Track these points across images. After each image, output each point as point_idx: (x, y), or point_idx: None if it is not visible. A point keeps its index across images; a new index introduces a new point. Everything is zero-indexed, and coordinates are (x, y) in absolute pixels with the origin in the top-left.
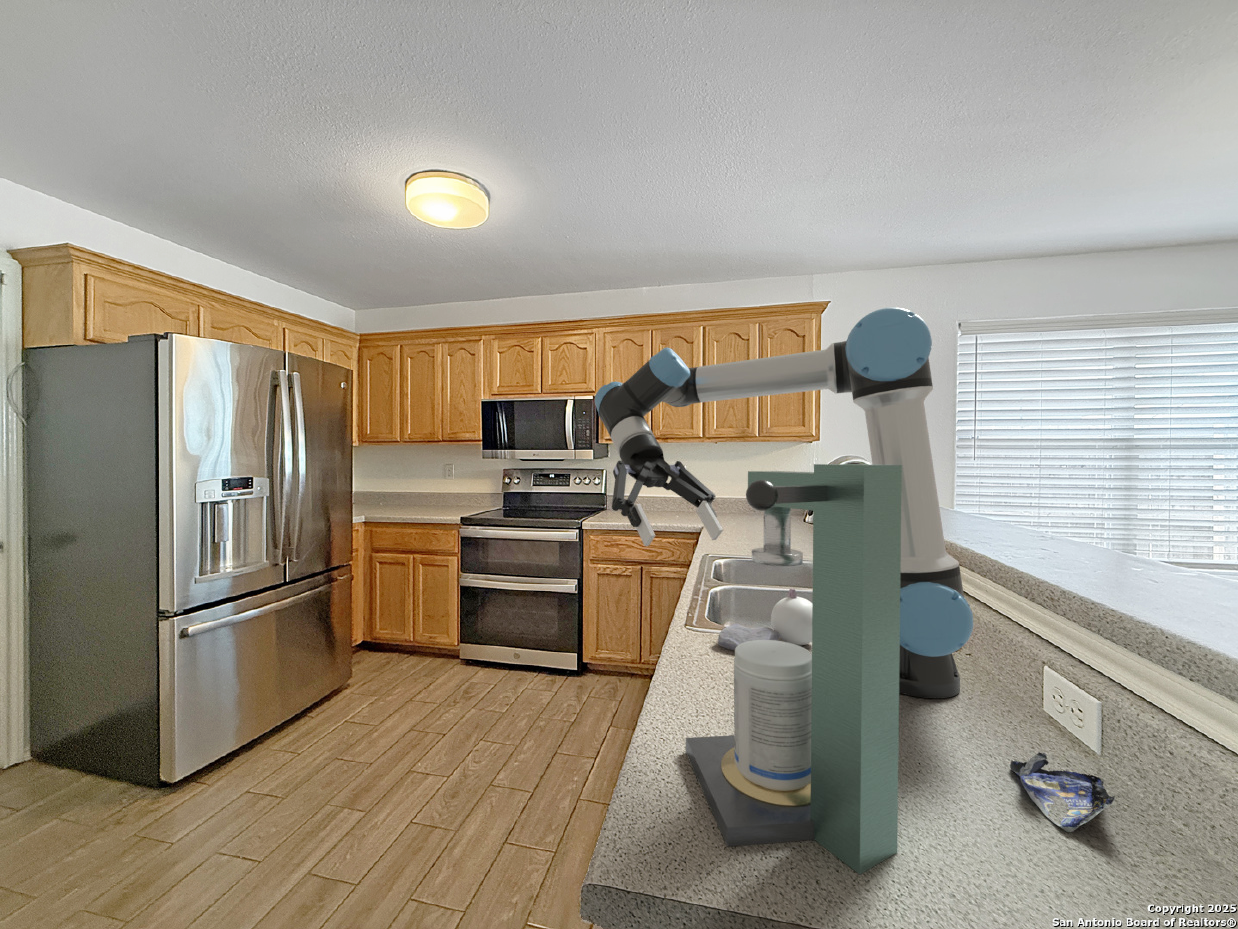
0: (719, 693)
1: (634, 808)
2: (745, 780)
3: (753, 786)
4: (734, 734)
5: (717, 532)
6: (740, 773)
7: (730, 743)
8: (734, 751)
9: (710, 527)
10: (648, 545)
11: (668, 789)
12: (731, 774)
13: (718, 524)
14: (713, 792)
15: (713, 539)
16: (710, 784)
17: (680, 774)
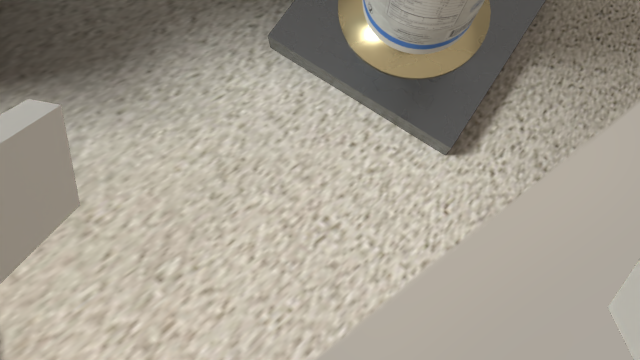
0: (222, 262)
1: (597, 108)
2: None
3: None
4: (472, 16)
5: (62, 139)
6: None
7: (404, 91)
8: (462, 33)
9: (20, 212)
10: (614, 304)
11: (531, 108)
12: (472, 38)
13: (5, 123)
14: (521, 32)
15: (75, 197)
16: (511, 44)
17: (492, 121)
